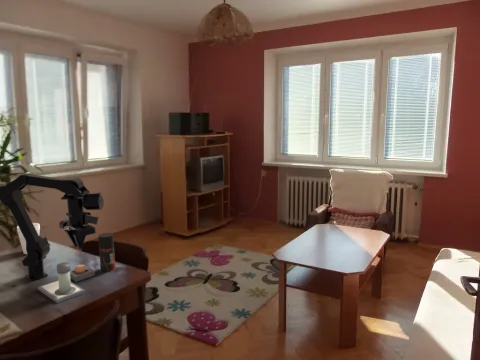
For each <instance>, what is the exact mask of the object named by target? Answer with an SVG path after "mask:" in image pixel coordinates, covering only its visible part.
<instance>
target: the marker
mask: <svg viewBox="0 0 480 360" xmlns="http://www.w3.org/2000/svg"><path fill="white" fill-rule="evenodd" d="M70 265H71V264H70V262H67V261H66V262H60V263H58V264H56V272H57V280H58V283H59V292H60V293H67V292H70V291H71V282H72V281H71V280H72V279H70V270H71V266H70Z"/></svg>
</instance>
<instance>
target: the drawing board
mask: <svg viewBox="0 0 480 360" xmlns="http://www.w3.org/2000/svg"><path fill="white" fill-rule="evenodd" d="M37 290H38V291H39V292H40V293H42V294H43V295H45V296H46V297H48V298H49V299H51V300H52V301H54V302H55V303H56V304H59V303H62V302H64V301H67V300H70V299H73V298H76V297H78V296H81V295H83V294H86V292H85V289H83V288H82V287H80V286H79V285H77V284H75V283H73V282H72V281H71V291H70V292H67V293H60V292H59V283H58V279H57V280H54V281H51V282H48V283H45V284H43V285H38V287H37Z"/></svg>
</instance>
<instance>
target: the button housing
mask: <svg viewBox="0 0 480 360" xmlns="http://www.w3.org/2000/svg"><path fill="white" fill-rule="evenodd" d="M85 268H86V272H84V273H81V274H76V273H75V268H73V269H70V280H72V281H73V282H79V281H82V280H85V279H88V278H91V277H94V276H95V275H96V274H95V273H96V271H95V270H94V269H92V268H90V267H89V266H86V265H85Z"/></svg>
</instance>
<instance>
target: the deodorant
mask: <svg viewBox="0 0 480 360" xmlns="http://www.w3.org/2000/svg"><path fill="white" fill-rule="evenodd" d="M97 236H98V252H99V266H100V268H99V269H100V271H101V272H104V273H105V272H111V271H115V269H116V260H115V259H116V256H115V244H114V243H115V239H114V233H111V232H103V233H101V234H98V235H97Z"/></svg>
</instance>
